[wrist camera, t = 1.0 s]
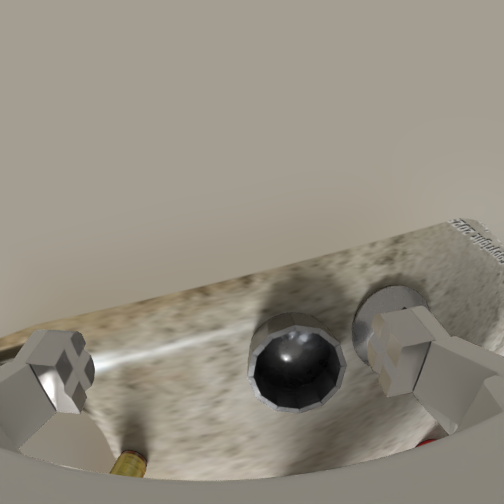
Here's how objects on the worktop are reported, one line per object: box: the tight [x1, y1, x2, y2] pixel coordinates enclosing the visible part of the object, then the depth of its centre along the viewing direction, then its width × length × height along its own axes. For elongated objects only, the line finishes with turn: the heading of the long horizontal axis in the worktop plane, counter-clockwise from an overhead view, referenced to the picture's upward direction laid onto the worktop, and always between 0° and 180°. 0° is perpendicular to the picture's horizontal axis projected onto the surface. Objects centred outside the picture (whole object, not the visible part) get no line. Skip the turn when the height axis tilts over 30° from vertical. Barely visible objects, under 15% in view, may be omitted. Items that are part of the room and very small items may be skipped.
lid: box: [352, 285, 430, 367], centre depth 49 cm, size 15×15×6 cm
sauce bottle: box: [109, 451, 147, 478], centre depth 44 cm, size 6×6×20 cm
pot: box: [247, 313, 346, 413], centre depth 48 cm, size 14×14×8 cm
